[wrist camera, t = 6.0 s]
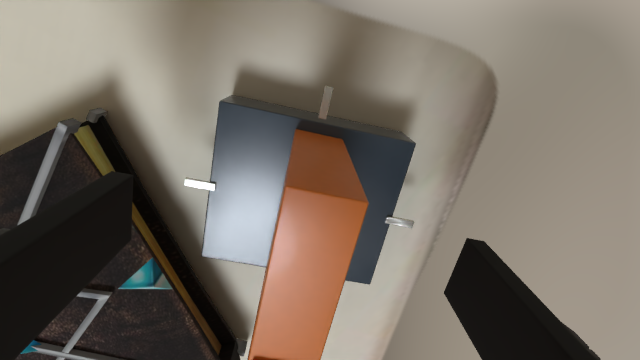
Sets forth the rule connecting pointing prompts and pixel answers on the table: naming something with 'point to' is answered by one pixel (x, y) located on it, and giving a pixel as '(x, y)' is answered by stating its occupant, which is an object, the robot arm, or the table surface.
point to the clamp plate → (270, 170)
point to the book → (113, 260)
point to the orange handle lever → (309, 250)
